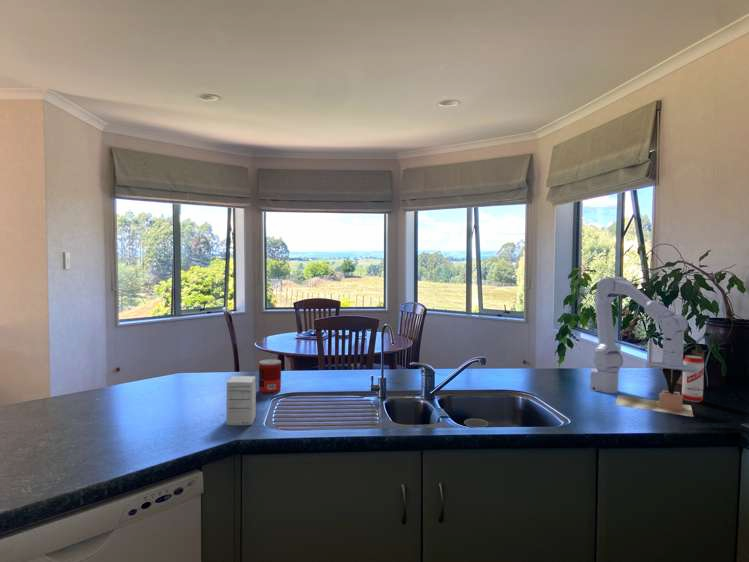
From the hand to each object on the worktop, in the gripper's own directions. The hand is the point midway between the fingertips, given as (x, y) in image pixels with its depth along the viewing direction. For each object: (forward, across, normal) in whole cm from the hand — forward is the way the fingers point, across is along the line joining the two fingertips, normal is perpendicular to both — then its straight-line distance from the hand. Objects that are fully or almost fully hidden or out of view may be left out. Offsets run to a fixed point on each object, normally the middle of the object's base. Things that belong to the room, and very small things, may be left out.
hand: (671, 392), depth 155 cm
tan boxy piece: (+5, 0, 0) cm, 5 cm away
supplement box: (+7, -109, -86) cm, 139 cm away
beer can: (+7, +7, +20) cm, 22 cm away
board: (+6, -5, 0) cm, 8 cm away
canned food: (+7, -125, -58) cm, 138 cm away
